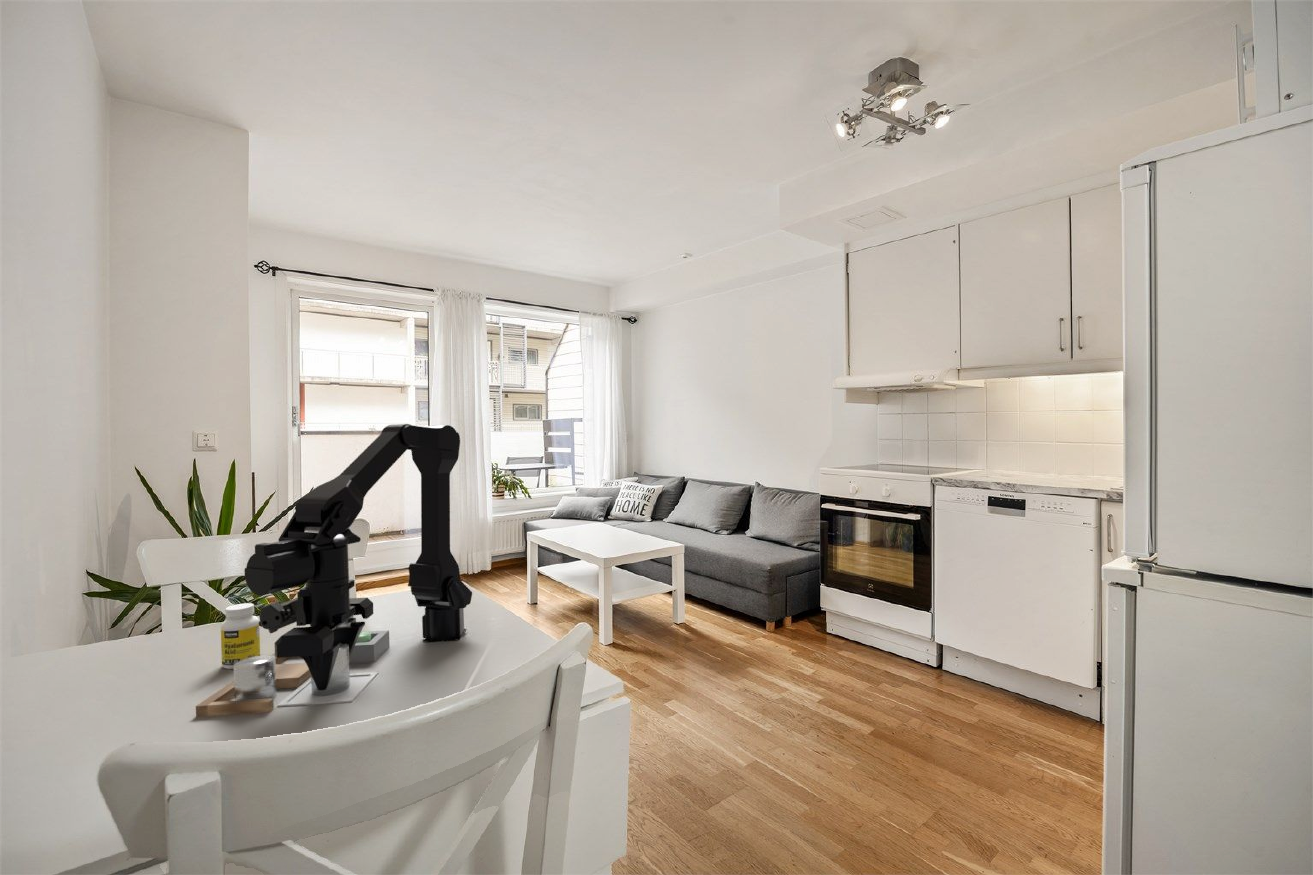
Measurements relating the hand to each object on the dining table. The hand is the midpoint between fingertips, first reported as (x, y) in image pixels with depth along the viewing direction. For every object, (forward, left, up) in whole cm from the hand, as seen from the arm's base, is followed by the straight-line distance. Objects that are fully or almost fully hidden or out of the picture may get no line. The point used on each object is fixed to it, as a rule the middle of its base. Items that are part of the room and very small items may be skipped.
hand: (330, 682), depth 88 cm
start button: (+1, -13, -1) cm, 14 cm away
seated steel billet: (+9, +2, -2) cm, 10 cm away
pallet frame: (+10, -4, -2) cm, 11 cm away
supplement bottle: (+21, -14, -2) cm, 26 cm away
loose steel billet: (0, 0, -1) cm, 1 cm away
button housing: (+1, -13, -2) cm, 14 cm away
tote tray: (0, 0, -2) cm, 2 cm away
